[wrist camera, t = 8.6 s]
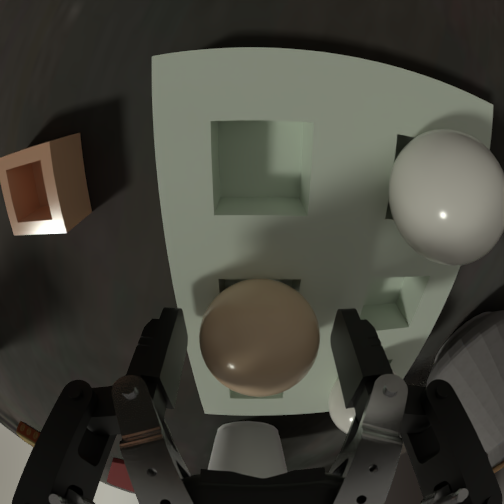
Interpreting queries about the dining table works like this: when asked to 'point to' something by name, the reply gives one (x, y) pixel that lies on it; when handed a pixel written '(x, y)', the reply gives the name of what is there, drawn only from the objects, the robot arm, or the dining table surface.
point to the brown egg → (259, 337)
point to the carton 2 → (119, 475)
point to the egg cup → (45, 187)
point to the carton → (27, 433)
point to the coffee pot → (478, 377)
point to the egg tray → (298, 196)
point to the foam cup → (248, 449)
